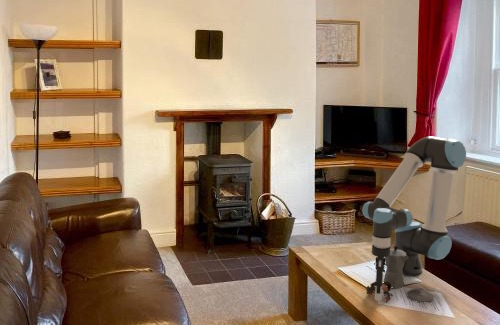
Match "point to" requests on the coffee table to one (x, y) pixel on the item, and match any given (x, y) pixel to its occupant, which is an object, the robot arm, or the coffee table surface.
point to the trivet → (420, 295)
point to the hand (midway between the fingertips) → (378, 293)
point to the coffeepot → (395, 267)
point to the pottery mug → (385, 287)
